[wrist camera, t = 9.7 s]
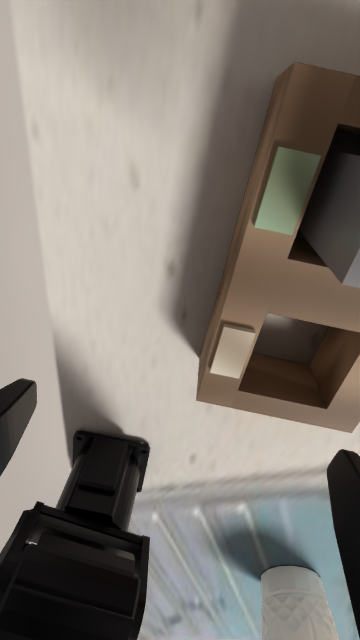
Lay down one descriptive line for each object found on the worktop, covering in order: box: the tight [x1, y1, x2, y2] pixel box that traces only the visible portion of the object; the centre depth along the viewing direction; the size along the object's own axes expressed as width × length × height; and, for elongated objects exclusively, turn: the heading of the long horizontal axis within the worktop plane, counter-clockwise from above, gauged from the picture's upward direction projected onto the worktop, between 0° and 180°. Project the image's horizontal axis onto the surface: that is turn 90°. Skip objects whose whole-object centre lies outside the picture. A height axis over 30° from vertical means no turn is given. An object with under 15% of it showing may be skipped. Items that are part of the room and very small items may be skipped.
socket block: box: [196, 62, 360, 433], centre depth 17 cm, size 16×9×4 cm, turn 169°
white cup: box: [261, 566, 339, 640], centre depth 33 cm, size 8×8×10 cm
